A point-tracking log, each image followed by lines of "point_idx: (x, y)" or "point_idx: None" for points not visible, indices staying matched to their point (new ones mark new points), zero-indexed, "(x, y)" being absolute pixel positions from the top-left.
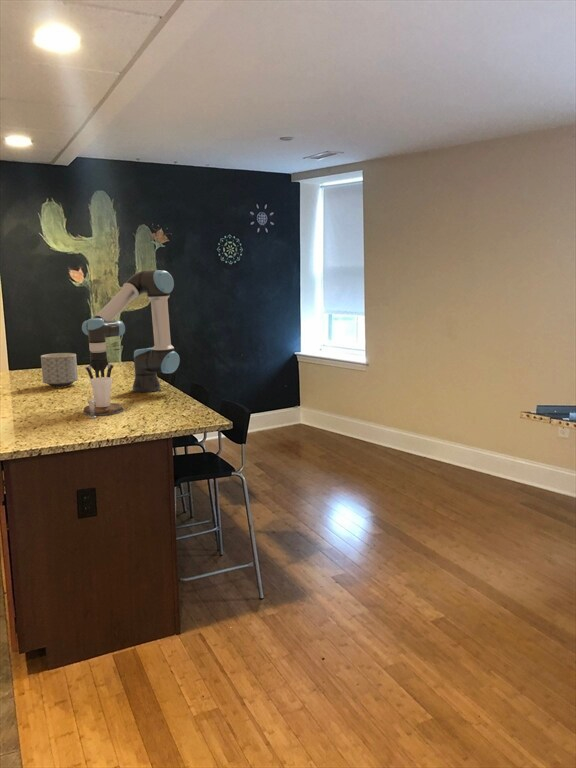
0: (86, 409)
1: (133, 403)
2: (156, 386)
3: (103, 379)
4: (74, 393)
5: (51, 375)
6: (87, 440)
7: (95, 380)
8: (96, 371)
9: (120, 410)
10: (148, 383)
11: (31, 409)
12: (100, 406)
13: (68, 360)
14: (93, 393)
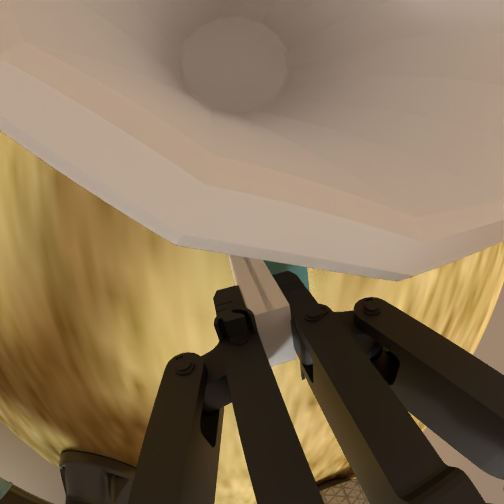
0: None
1: (50, 299)
2: (61, 464)
3: (304, 164)
4: (317, 459)
5: (358, 493)
6: None
7: None
8: (474, 495)
9: None
10: (79, 477)
11: (479, 276)
12: (259, 14)
13: None
14: (373, 8)
